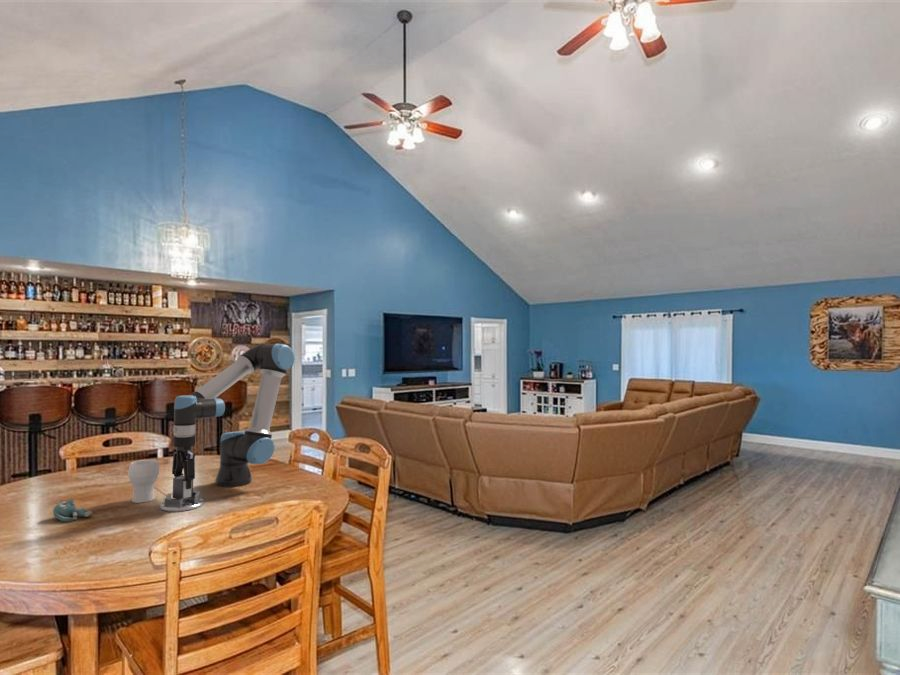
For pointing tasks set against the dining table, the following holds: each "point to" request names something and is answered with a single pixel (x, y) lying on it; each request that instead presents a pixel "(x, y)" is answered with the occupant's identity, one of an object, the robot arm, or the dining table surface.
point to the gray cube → (179, 487)
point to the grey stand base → (182, 503)
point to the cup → (143, 479)
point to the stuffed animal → (69, 511)
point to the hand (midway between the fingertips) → (182, 495)
